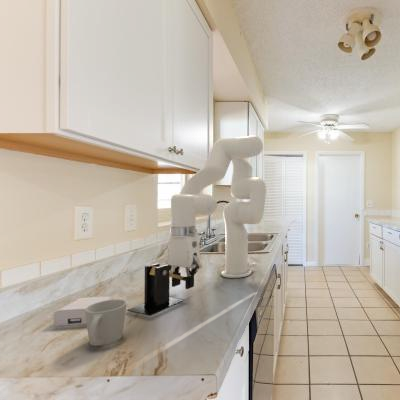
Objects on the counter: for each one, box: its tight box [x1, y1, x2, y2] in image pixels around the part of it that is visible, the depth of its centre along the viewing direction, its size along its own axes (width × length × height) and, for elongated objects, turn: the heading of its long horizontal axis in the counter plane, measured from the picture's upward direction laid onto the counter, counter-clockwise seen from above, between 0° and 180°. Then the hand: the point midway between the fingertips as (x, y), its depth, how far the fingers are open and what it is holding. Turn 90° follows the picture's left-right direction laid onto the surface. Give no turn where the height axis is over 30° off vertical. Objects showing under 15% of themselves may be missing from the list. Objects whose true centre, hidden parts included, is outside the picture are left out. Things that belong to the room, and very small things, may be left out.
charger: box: [53, 295, 114, 327], centre depth 75 cm, size 5×9×15 cm
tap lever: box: [150, 266, 187, 282], centre depth 85 cm, size 13×5×2 cm, turn 158°
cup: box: [85, 298, 127, 347], centre depth 60 cm, size 8×10×8 cm
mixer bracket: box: [126, 262, 185, 317], centre depth 80 cm, size 12×9×13 cm
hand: (182, 286), depth 90 cm, fingers closed on tap lever, 5 cm apart
